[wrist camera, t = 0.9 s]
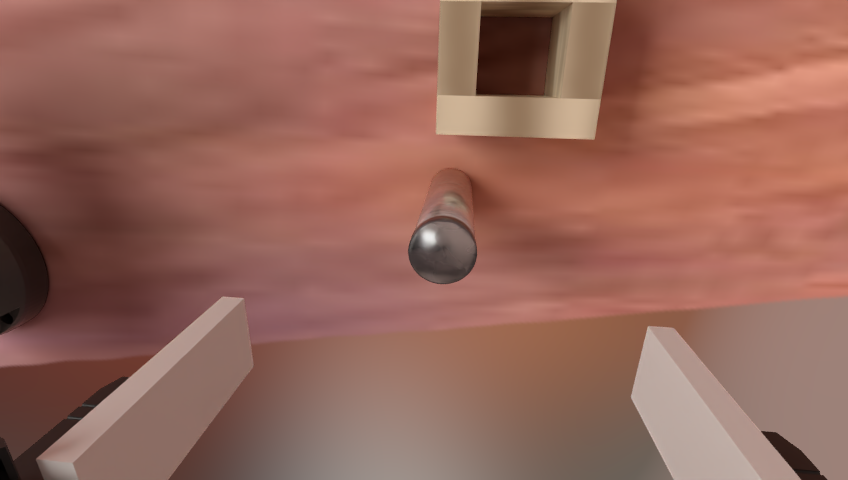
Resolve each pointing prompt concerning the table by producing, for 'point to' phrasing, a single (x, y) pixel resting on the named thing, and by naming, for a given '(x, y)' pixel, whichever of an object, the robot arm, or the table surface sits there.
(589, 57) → the hollow square frame
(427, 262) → the glass vial with cap
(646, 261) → the table surface
